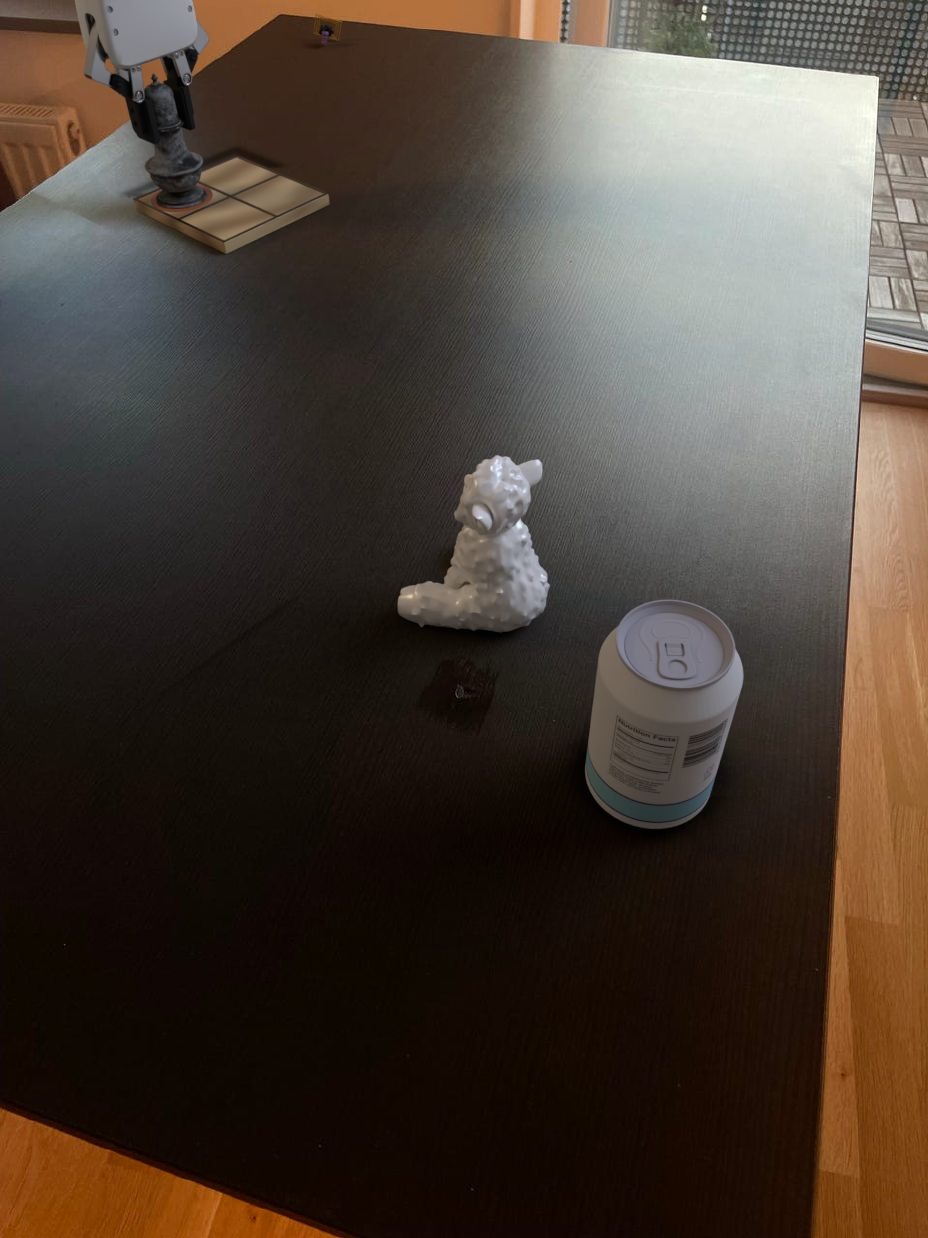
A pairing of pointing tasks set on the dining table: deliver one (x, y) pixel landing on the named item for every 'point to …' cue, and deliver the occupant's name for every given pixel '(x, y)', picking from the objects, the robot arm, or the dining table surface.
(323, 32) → the framed picture
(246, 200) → the board
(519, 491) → the white creature statuette
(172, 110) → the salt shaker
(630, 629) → the beverage can
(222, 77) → the dining table surface
